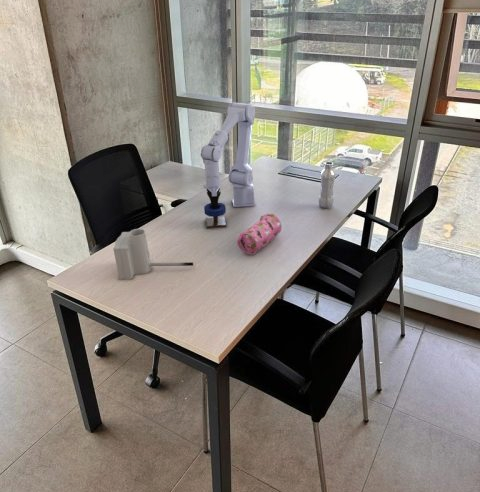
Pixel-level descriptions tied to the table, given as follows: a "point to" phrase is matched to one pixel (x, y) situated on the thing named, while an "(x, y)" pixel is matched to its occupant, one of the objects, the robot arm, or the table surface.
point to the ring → (215, 210)
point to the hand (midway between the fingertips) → (214, 205)
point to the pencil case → (259, 234)
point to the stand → (216, 222)
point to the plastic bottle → (327, 186)
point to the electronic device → (135, 255)
